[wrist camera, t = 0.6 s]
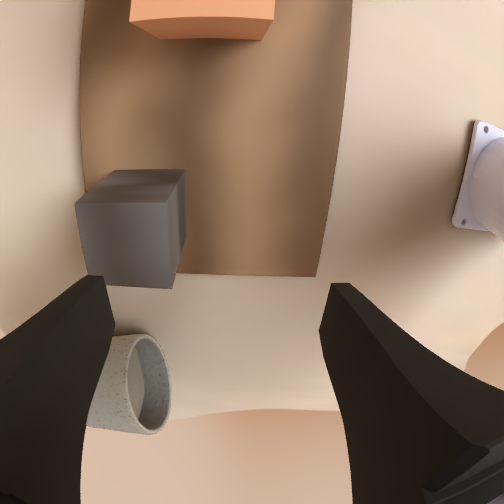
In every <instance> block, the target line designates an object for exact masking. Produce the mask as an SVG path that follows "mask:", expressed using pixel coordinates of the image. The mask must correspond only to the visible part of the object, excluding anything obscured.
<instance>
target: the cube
mask: <svg viewBox="0 0 504 504" xmlns="http://www.w3.org/2000/svg"><path fill="white" fill-rule="evenodd" d="M274 9H275V0H131V9H130V19H129V22H130V23H132V24H134V25H136V26H138V27H139V28H141V29H143V30H145V31H146V32H148V33H150V34H151V35H153V36H155V37H157V38H158V39H160V40H165V39H187V38H225V39H248V40H261V41H262V39H263V37H264V35H265V34H266V32H267V30H268V29H269V27H270V25H271V23H272V22H273V20H274Z"/></svg>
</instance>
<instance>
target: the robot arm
mask: <svg viewBox="0 0 504 504" xmlns="http://www.w3.org/2000/svg"><path fill="white" fill-rule="evenodd" d="M484 127H485V131H484ZM462 220H463V222H462ZM461 222H462V223H461ZM452 224H453V225H454V226H455V227H457V228H465V229H474V230H482V231H490V232H492V233H493V234H494V235H496V236H497V237H498V238H499V239H501V240H502V241H503V242H504V130H502V129H500V128H498V127H495V126H493V125H491V124H489V123H486V122H484V121H481V120H477V121H476V122H475V123H474V128H473V134H472V139H471V145H470V150H469V155H468V159H467V164H466V168H465V173H464V177H463V181H462V185H461V189H460V193H459V196H458V200H457V204H456V207H455V211H454V214H453V217H452ZM114 327H115V321H114V318H113V314H112V310H111V306H110V302H109V298H108V294H107V289H106V285H105V280H104V276H96V275H86V276H85V277H83V278H82V279H80V280H79V281H77V282H76V283H75V284H73V285H72V286H71V287H70V288H68V289H67V290H66V291H64V292H63V293H62V294H61V295H59V296H58V297H57V298H56V299H54V300H53V301H52V302H50V303H49V304H48V305H47V306H46V307H44V308H43V309H42V310H40V311H39V312H38V313H36V314H35V315H34V316H32V317H31V318H30V319H28V320H27V321H26V322H24V323H23V324H22V325H21V326H19V327H18V328H16V329H15V330H14V331H12V332H11V333H9V334H8V335H6V336H5V337H3V338H2V339H0V504H81V501H80V479H81V461H82V451H83V442H84V434H85V429H86V423H87V418H88V413H89V409H90V406H91V402H92V399H93V396H94V393H95V390H96V387H97V384H98V381H99V378H100V376H101V373H102V370H103V367H104V364H105V361H106V358H107V356H108V353H109V350H110V345H111V341H112V337H113V332H114ZM319 334H320V340H321V346H322V351H323V357H324V360H325V363H326V367H327V370H328V373H329V376H330V379H331V383H332V386H333V389H334V392H335V395H336V399H337V402H338V405H339V408H340V412H341V415H342V419H343V423H344V429H345V435H346V440H347V447H348V455H349V463H350V471H351V482H352V497H353V504H504V391H503V390H501V389H498V388H496V387H494V386H491V385H489V384H487V383H485V382H482V381H480V380H478V379H477V378H475V377H472V376H470V375H469V374H467V373H465V372H463V371H462V370H460V369H458V368H456V367H455V366H453V365H451V364H450V363H448V362H446V361H445V360H443V359H442V358H440V357H439V356H437V355H436V354H434V353H433V352H432V351H430V350H429V349H427V348H426V347H424V346H423V345H422V344H420V343H419V342H418V341H416V340H415V339H414V338H413V337H411V336H410V335H409V334H408V333H406V332H405V331H404V330H403V329H401V328H400V327H399V326H398V325H397V324H396V323H394V322H393V321H392V320H391V319H390V318H389V317H387V316H386V315H385V314H384V313H383V312H382V311H381V310H380V309H378V308H377V307H376V306H375V305H374V304H373V303H372V302H371V301H370V300H368V299H367V298H366V297H365V296H364V295H363V294H362V293H360V292H359V291H358V290H357V289H356V288H355V287H353V286H352V285H351V284H350V283H331V286H330V290H329V294H328V298H327V302H326V306H325V310H324V313H323V317H322V321H321V324H320V328H319Z"/></svg>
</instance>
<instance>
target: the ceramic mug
mask: <svg viewBox="0 0 504 504" xmlns="http://www.w3.org/2000/svg"><path fill="white" fill-rule="evenodd" d="M170 409H171V381H170V375H169V368H168V364H167V361H166V358H165V356H164V354H163V351H162V349H161V347H160V345H159V344H158V343H157V341H156V340H155V339H154V338H153V337H152V336H150V335H148V334H133V335H125V336H114V337H112V341H111V345H110V350H109V353H108V356H107V358H106V361H105V364H104V367H103V370H102V373H101V376H100V378H99V381H98V384H97V387H96V390H95V393H94V396H93V399H92V402H91V406H90V409H89V413H88V418H87V423H86V426H89V427H94V428H103V429H109V430H115V431H122V432H129V433H138V434H147V435H148V434H149V435H151V434H156V433H157V432H159V431H160V430H162V428H163V427H164V426H165V424H166V422H167V420H168V416H169V413H170Z"/></svg>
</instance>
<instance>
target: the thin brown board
mask: <svg viewBox="0 0 504 504" xmlns="http://www.w3.org/2000/svg"><path fill="white" fill-rule="evenodd" d="M130 9H131V0H86V4H85V12H84V20H83V31H82V43H81V59H80V130H81V148H82V161H83V172H84V182H85V191H86V194H85V195H83V196H82V197H81V198H80V199H79V200H78V201H77V202H75V209H76V216H77V222H78V227H79V233H80V238H81V243H82V248H83V253H84V258H85V263H86V267H87V271H88V275H96V276H104V280H105V285H113V286H128V287H145V288H164V289H172V286H173V283H174V279H175V275H176V273H192V274H219V275H252V276H292V277H316V272H317V267H318V263H319V258H320V253H321V248H322V242H323V237H324V232H325V226H326V221H327V215H328V210H329V204H330V198H331V192H332V186H333V180H334V173H335V167H336V160H337V153H338V146H339V139H340V132H341V124H342V116H343V108H344V99H345V90H346V80H347V70H348V59H349V47H350V34H351V18H352V0H275V9H274V20H273V22H272V23H271V25H270V27H269V29H268V30H267V32H266V34H265V35H264V37H263V39H262V41H261V40H248V39H225V38H187V39H165V40H160V39H158V38H157V37H155V36H153V35H151V34H150V33H148V32H146V31H145V30H143V29H141V28H139V27H138V26H136V25H134V24H132V23H130V22H129V19H130Z"/></svg>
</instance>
